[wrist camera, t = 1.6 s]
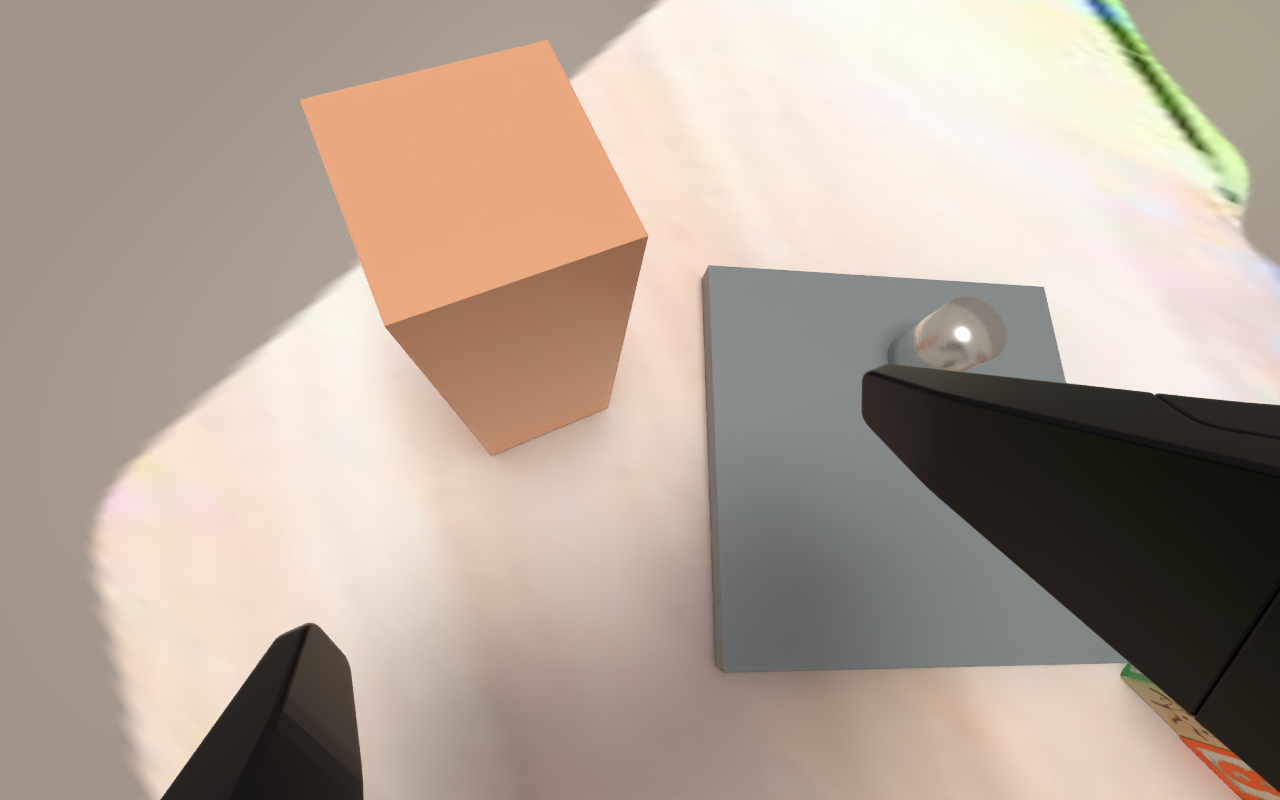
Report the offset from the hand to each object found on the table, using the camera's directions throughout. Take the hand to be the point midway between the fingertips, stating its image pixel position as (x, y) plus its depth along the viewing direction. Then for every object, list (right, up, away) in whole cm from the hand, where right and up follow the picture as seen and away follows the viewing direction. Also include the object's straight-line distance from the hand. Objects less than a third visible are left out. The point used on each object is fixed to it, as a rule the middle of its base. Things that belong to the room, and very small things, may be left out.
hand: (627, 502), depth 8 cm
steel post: (+12, +3, +16) cm, 20 cm away
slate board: (+11, -1, +15) cm, 18 cm away
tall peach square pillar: (-4, +3, +14) cm, 15 cm away
